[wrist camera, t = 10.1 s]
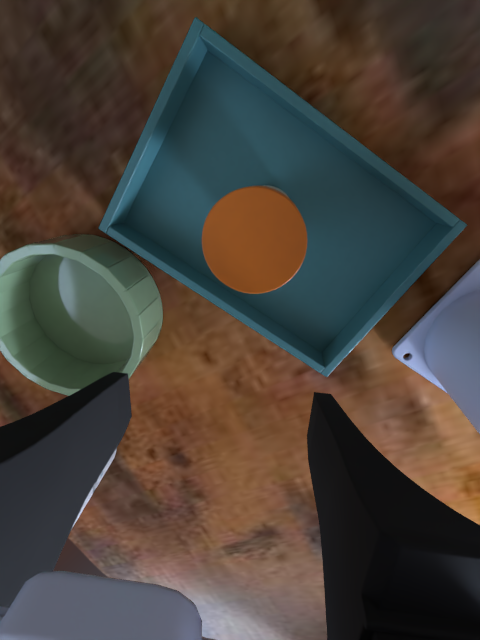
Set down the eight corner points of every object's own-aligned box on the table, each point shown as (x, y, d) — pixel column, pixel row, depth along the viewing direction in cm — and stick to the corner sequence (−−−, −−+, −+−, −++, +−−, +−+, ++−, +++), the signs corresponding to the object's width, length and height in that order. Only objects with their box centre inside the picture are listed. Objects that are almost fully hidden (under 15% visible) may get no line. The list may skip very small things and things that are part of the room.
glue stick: (309, 207, 19) (330, 228, 11) (272, 259, 21) (266, 312, 12) (256, 169, 19) (238, 162, 11) (222, 225, 20) (182, 257, 12)
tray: (446, 219, 19) (467, 225, 17) (322, 358, 23) (326, 377, 21) (206, 37, 17) (194, 16, 15) (117, 223, 22) (97, 228, 19)
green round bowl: (188, 289, 23) (171, 309, 19) (126, 389, 26) (102, 421, 23) (55, 202, 21) (11, 207, 18) (9, 320, 25) (-35, 343, 22)
